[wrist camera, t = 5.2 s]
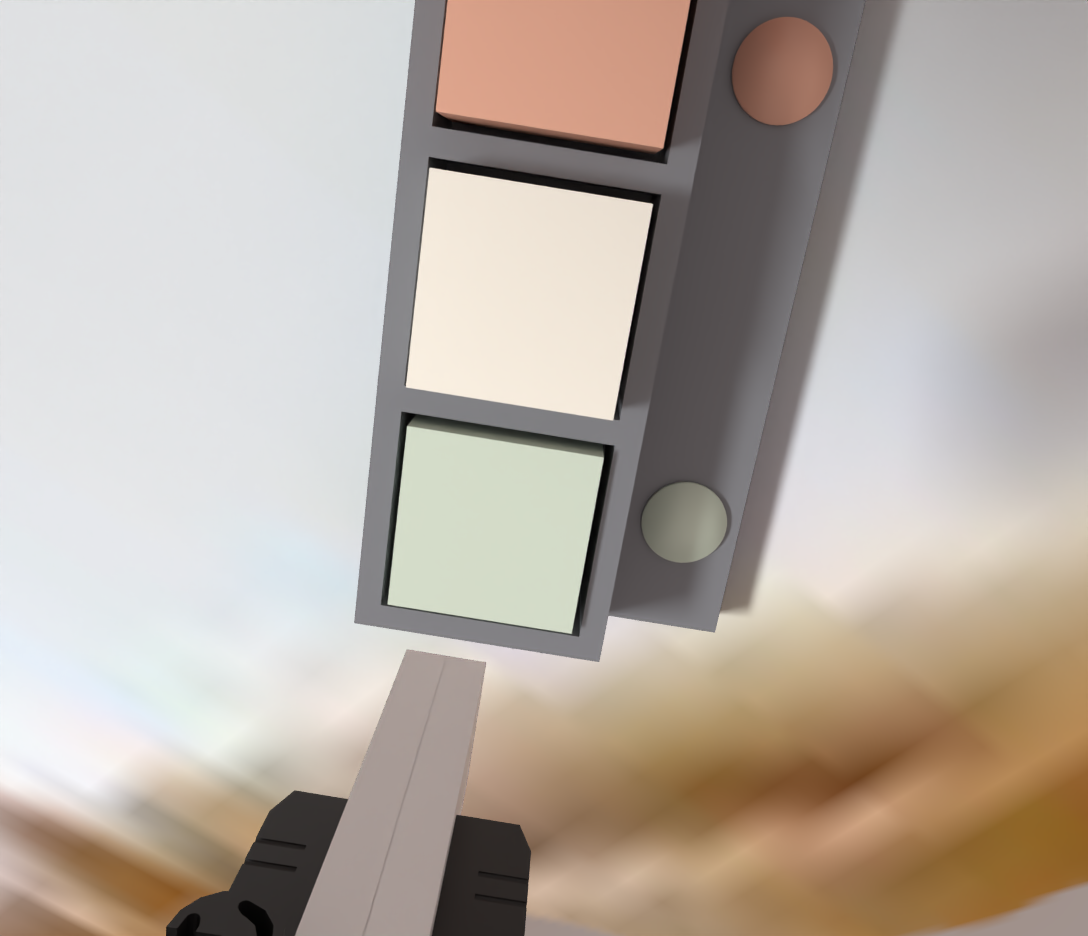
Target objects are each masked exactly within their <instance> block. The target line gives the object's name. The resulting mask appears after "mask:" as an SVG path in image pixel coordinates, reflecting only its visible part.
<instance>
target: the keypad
mask: <svg viewBox="0 0 1088 936" xmlns="http://www.w3.org/2000/svg"><path fill="white" fill-rule="evenodd" d="M865 1H866V0H690V6H689V11H688V16H687V22H686V27H685V33H684V38H683V44H682V49H681V54H680V60H679V65H678V71H677V76H676V82H675V87H674V92H673V98H672V103H671V109H670V114H669V120H668V125H667V131H666V136H665V141H664V147H663V149H661V150H660V151H658V152H657V153H656V154H648V153H642V152H636V151H630V150H623V149H617V148H611V147H605V146H599V145H593V144H587V143H580V142H574V141H568V140H562V139H556V138H550V137H543V136H537V135H531V134H525V133H519V132H513V131H506V130H500V129H494V128H488V127H482V126H476V125H469V124H463V123H457V122H452V121H450V120H449V119H447V118H446V117H444V116H442V115H441V114H439V113H438V112H436V104H437V94H438V85H439V76H440V67H441V57H442V48H443V39H444V30H445V20H446V11H447V2H448V0H415V8H414V18H413V29H412V39H411V49H410V59H409V70H408V80H407V90H406V100H405V110H404V121H403V131H402V141H401V151H400V161H399V172H398V182H397V192H396V202H395V213H394V223H393V233H392V243H391V253H390V264H389V274H388V284H387V294H386V304H385V315H384V325H383V335H382V345H381V356H380V366H379V376H378V386H377V396H376V407H375V417H374V427H373V437H372V447H371V458H370V468H369V478H368V488H367V498H366V509H365V519H364V529H363V539H362V550H361V560H360V570H359V580H358V590H357V601H356V611H355V621H354V623H358V624H364V625H370V626H377V627H383V628H389V629H395V630H402V631H408V632H414V633H421V634H427V635H433V636H439V637H446V638H452V639H458V640H465V641H471V642H477V643H483V644H490V645H496V646H502V647H508V648H515V649H521V650H527V651H534V652H540V653H546V654H552V655H559V656H565V657H571V658H577V659H584V660H590V661H596V662H599V660H600V655H601V650H602V645H603V640H604V635H605V630H606V625H607V619H608V616H615V617H621V618H627V619H633V620H640V621H646V622H652V623H658V624H665V625H671V626H677V627H683V628H690V629H696V630H702V631H709V632H715V629H716V625H717V621H718V617H719V613H720V609H721V604H722V600H723V596H724V592H725V588H726V583H727V579H728V575H729V571H730V567H731V562H732V558H733V554H734V550H735V546H736V542H737V537H738V533H739V529H740V525H741V521H742V516H743V512H744V508H745V504H746V500H747V495H748V491H749V487H750V483H751V479H752V475H753V470H754V466H755V462H756V458H757V454H758V449H759V445H760V441H761V437H762V433H763V428H764V424H765V420H766V416H767V412H768V408H769V403H770V399H771V395H772V391H773V387H774V382H775V378H776V374H777V370H778V366H779V361H780V357H781V353H782V349H783V345H784V341H785V336H786V332H787V328H788V324H789V320H790V315H791V311H792V307H793V303H794V299H795V295H796V290H797V286H798V282H799V278H800V274H801V269H802V265H803V261H804V257H805V253H806V248H807V244H808V240H809V236H810V232H811V228H812V223H813V219H814V215H815V211H816V207H817V202H818V198H819V194H820V190H821V186H822V181H823V177H824V173H825V169H826V165H827V161H828V156H829V152H830V148H831V144H832V140H833V135H834V131H835V127H836V123H837V119H838V114H839V110H840V106H841V102H842V98H843V94H844V89H845V85H846V81H847V77H848V73H849V68H850V64H851V60H852V56H853V52H854V47H855V43H856V39H857V35H858V31H859V27H860V22H861V18H862V14H863V10H864V6H865ZM429 168H435V169H441V170H447V171H453V172H460V173H466V174H472V175H478V176H484V177H491V178H497V179H503V180H509V181H515V182H521V183H528V184H534V185H540V186H546V187H552V188H558V189H565V190H571V191H577V192H583V193H589V194H596V195H602V196H608V197H614V198H620V199H626V200H633V201H639V202H645V203H651V204H653V207H652V212H651V217H650V223H649V228H648V234H647V239H646V245H645V250H644V256H643V261H642V266H641V272H640V277H639V283H638V288H637V294H636V299H635V304H634V310H633V315H632V321H631V326H630V332H629V337H628V342H627V348H626V353H625V359H624V364H623V370H622V375H621V381H620V386H619V391H618V397H617V402H616V408H615V413H614V419H613V421H612V420H606V419H600V418H593V417H587V416H581V415H575V414H569V413H562V412H556V411H550V410H544V409H537V408H531V407H525V406H519V405H513V404H506V403H500V402H494V401H488V400H481V399H475V398H469V397H463V396H457V395H450V394H444V393H438V392H432V391H425V390H419V389H413V388H407V387H406V381H407V372H408V363H409V354H410V344H411V335H412V326H413V317H414V307H415V298H416V289H417V280H418V270H419V261H420V252H421V243H422V233H423V224H424V215H425V206H426V196H427V187H428V178H429ZM416 414H421V415H427V416H433V417H439V418H446V419H452V420H458V421H464V422H470V423H477V424H483V425H489V426H495V427H502V428H508V429H514V430H520V431H527V432H533V433H539V434H545V435H551V436H558V437H564V438H570V439H576V440H583V441H589V442H595V443H601V444H603V453H604V459H603V465H602V470H601V476H600V481H599V487H598V492H597V498H596V503H595V509H594V514H593V520H592V525H591V530H590V536H589V541H588V547H587V552H586V558H585V563H584V569H583V574H582V580H581V585H580V591H579V596H578V601H577V607H576V612H575V618H574V623H573V629H572V634H570V633H563V632H557V631H551V630H545V629H538V628H532V627H526V626H519V625H513V624H507V623H501V622H494V621H488V620H482V619H476V618H469V617H463V616H457V615H451V614H444V613H438V612H432V611H425V610H419V609H413V608H407V607H400V606H394V605H388V596H389V587H390V577H391V568H392V559H393V550H394V541H395V532H396V523H397V514H398V505H399V496H400V487H401V478H402V468H403V459H404V450H405V441H406V432H407V426H408V424H409V423H410V422H411V421H412V419H413V418H414V417H415V415H416Z"/></svg>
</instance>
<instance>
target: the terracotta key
mask: <svg viewBox="0 0 1088 936" xmlns="http://www.w3.org/2000/svg"><path fill="white" fill-rule="evenodd" d="M689 6H690V0H448V2H447V11H446V20H445V30H444V39H443V48H442V57H441V67H440V76H439V85H438V94H437V104H436V112H438V113H439V114H441V115H442V116H444V117H446V118H447V119H449V120H450V121H452V122H457V123H463V124H469V125H476V126H482V127H488V128H494V129H500V130H506V131H513V132H519V133H525V134H531V135H537V136H543V137H550V138H556V139H562V140H568V141H574V142H580V143H587V144H593V145H599V146H605V147H611V148H617V149H623V150H630V151H636V152H642V153H648V154H656V153H657V152H658V151H660V150H661V149H663V147H664V141H665V136H666V131H667V125H668V120H669V114H670V109H671V103H672V98H673V92H674V87H675V82H676V76H677V71H678V65H679V60H680V54H681V49H682V44H683V38H684V33H685V27H686V22H687V16H688V11H689Z"/></svg>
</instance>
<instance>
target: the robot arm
mask: <svg viewBox="0 0 1088 936" xmlns="http://www.w3.org/2000/svg"><path fill="white" fill-rule="evenodd" d="M485 667H486V662H480V661H474V660H468V659H462V658H456V657H450V656H444V655H438V654H432V653H426V652H420V651H414V650H406V653H405V655H404V658H403V660H402V663H401V666H400V668H399V671H398V673H397V676H396V678H395V681H394V684H393V686H392V689H391V691H390V694H389V696H388V699H387V701H386V704H385V707H384V709H383V712H382V714H381V717H380V719H379V722H378V724H377V727H376V730H375V732H374V735H373V737H372V740H371V742H370V745H369V747H368V750H367V753H366V755H365V758H364V760H363V763H362V765H361V768H360V770H359V773H358V776H357V778H356V781H355V783H354V786H353V788H352V791H351V793H350V796H349V799H343V798H337V797H331V796H325V795H319V794H313V793H307V792H301V791H293V792H292V793H291V794H290V795H289V796H287V797H286V798H285V799H284V800H282V801H281V802H280V803H279V804H278V805H276V806H275V807H274V808H273V809H272V810H270V811H269V813H268V815H267V817H266V819H265V821H264V823H263V825H262V827H261V829H260V831H259V833H258V835H257V837H256V841H255V842H254V843H253V845H252V847H251V849H250V851H249V852H248V854H247V856H246V858H245V863H244V864H242V866H241V868H240V870H239V872H238V874H237V876H236V878H235V880H234V882H233V884H232V886H231V888H230V890H229V891H222V892H219V893H215V894H212V895H208V896H205V897H201V898H199V899H198V900H196V901H194V902H193V903H191V904H189V905H188V906H186V907H185V908H183V909H181V910H180V911H179V912H178V914H177V915H176V916H175V917H174V918H173V920H172V921H171V922H170V923H169V924H168V925H167V927H166V936H524V933H525V920H526V905H527V895H528V880H529V869H530V856H531V850H530V848H529V846H528V843H527V841H526V839H525V836H524V834H523V832H522V830H521V827H520V825H516V824H510V823H504V822H498V821H492V820H486V819H479V818H473V817H467V816H461V811H462V806H463V801H464V796H465V790H466V785H467V779H468V773H469V767H470V761H471V754H472V748H473V742H474V736H475V729H476V723H477V717H478V711H479V704H480V698H481V692H482V685H483V679H484V673H485Z"/></svg>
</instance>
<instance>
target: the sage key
mask: <svg viewBox="0 0 1088 936" xmlns="http://www.w3.org/2000/svg"><path fill="white" fill-rule="evenodd" d="M603 459H604V453H603V444H601V443H595V442H589V441H583V440H576V439H570V438H564V437H558V436H551V435H545V434H539V433H533V432H527V431H520V430H514V429H508V428H502V427H495V426H489V425H483V424H477V423H470V422H464V421H458V420H452V419H446V418H439V417H433V416H427V415H421V414H416V415H415V417H414V418H413V419H412V421H411V422H410V423H409V424H408V426H407V432H406V441H405V450H404V459H403V468H402V478H401V487H400V496H399V505H398V514H397V523H396V532H395V541H394V550H393V559H392V568H391V577H390V587H389V596H388V605H394V606H400V607H407V608H413V609H419V610H425V611H432V612H438V613H444V614H451V615H457V616H463V617H469V618H476V619H482V620H488V621H494V622H501V623H507V624H513V625H519V626H526V627H532V628H538V629H545V630H551V631H557V632H563V633H570V634H572V629H573V623H574V618H575V612H576V607H577V601H578V596H579V591H580V585H581V580H582V574H583V569H584V563H585V558H586V552H587V547H588V541H589V536H590V530H591V525H592V520H593V514H594V509H595V503H596V498H597V492H598V487H599V481H600V476H601V470H602V465H603Z"/></svg>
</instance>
